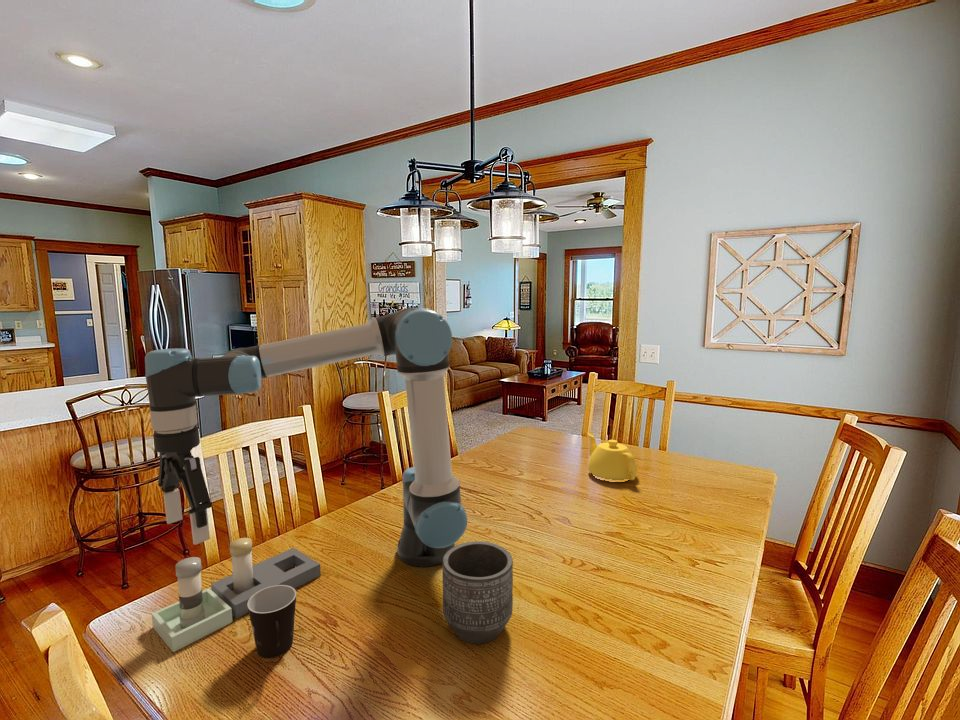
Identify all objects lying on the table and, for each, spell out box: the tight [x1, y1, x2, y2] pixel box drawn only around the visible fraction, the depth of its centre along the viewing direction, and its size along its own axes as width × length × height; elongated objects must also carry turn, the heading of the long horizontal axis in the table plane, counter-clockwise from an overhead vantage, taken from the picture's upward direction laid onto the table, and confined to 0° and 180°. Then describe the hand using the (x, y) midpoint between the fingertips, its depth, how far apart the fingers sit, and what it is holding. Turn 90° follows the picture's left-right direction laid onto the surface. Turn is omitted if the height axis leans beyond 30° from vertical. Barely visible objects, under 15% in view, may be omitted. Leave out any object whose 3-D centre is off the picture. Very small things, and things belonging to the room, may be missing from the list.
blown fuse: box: [174, 556, 205, 629], centre depth 97 cm, size 4×4×13 cm
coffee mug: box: [247, 585, 297, 659], centre depth 90 cm, size 12×9×10 cm
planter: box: [442, 540, 514, 645], centre depth 97 cm, size 14×14×15 cm
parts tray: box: [151, 587, 233, 653], centre depth 98 cm, size 11×11×3 cm
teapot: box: [587, 432, 637, 481], centre depth 181 cm, size 25×18×14 cm
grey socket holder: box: [210, 537, 322, 619], centre depth 111 cm, size 12×20×13 cm, turn 141°
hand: (187, 531), depth 96 cm, fingers open, 13 cm apart
